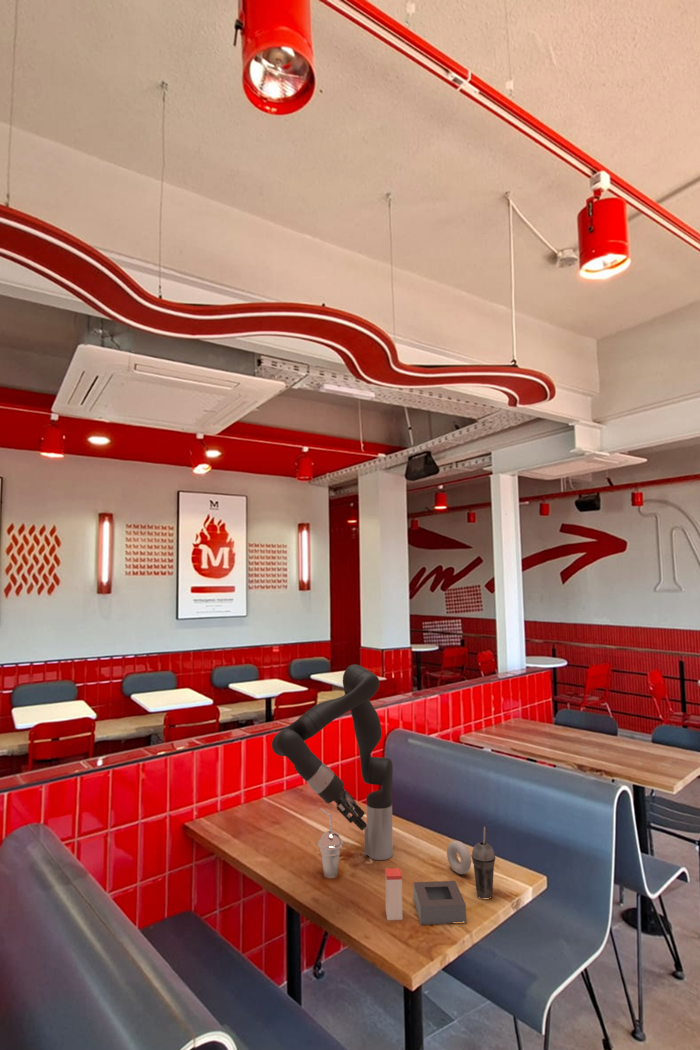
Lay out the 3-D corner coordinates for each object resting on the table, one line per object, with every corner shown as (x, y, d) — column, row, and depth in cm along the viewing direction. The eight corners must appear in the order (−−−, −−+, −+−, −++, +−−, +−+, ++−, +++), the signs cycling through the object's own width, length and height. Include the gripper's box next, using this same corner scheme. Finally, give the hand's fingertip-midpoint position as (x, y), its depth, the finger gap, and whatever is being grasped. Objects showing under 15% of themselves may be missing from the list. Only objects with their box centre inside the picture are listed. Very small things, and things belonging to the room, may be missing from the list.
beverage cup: (467, 895, 176) (466, 828, 178) (480, 886, 182) (479, 821, 183) (488, 905, 171) (486, 835, 173) (501, 895, 176) (499, 828, 178)
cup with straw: (320, 883, 184) (320, 818, 186) (315, 869, 193) (314, 808, 195) (346, 879, 187) (345, 815, 189) (339, 866, 195) (339, 805, 197)
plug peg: (387, 920, 164) (386, 876, 165) (385, 911, 169) (385, 868, 170) (402, 919, 164) (401, 875, 166) (400, 910, 169) (399, 868, 170)
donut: (473, 877, 187) (473, 845, 188) (466, 881, 185) (465, 848, 186) (452, 865, 195) (451, 834, 196) (444, 868, 193) (444, 837, 194)
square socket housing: (420, 924, 162) (420, 906, 162) (413, 899, 175) (413, 882, 175) (466, 923, 162) (465, 904, 163) (455, 897, 175) (455, 880, 176)
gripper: (334, 781, 163) (374, 822, 163) (333, 765, 178) (370, 802, 177) (315, 801, 163) (356, 842, 162) (316, 783, 177) (353, 821, 176)
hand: (363, 821), depth 169 cm, fingers open, 8 cm apart
